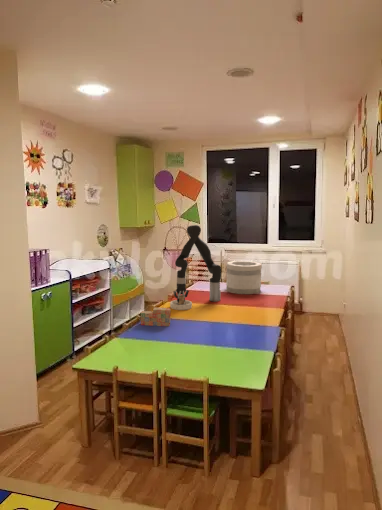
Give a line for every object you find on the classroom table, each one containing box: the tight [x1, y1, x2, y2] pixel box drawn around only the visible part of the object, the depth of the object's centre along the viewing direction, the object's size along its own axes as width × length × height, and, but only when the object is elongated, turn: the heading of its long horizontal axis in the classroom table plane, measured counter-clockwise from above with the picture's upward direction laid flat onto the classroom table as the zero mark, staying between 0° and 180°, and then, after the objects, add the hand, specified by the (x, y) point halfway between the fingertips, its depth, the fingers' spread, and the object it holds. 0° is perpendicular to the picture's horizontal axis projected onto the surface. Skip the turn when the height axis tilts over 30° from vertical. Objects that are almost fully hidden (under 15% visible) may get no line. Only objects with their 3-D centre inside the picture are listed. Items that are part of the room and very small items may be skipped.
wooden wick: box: [178, 294, 184, 304], centre depth 357 cm, size 4×4×7 cm
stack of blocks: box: [140, 307, 172, 327], centre depth 309 cm, size 21×6×12 cm, turn 85°
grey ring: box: [169, 299, 193, 311], centre depth 357 cm, size 18×18×4 cm
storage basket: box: [225, 260, 263, 295], centre depth 423 cm, size 35×35×27 cm
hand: (180, 302), depth 357 cm, fingers closed on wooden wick, 4 cm apart
